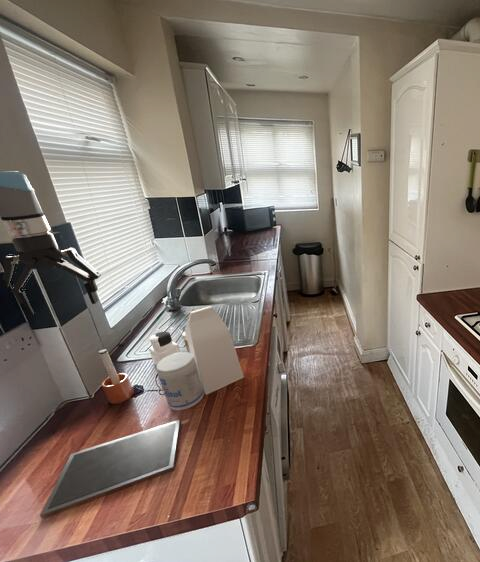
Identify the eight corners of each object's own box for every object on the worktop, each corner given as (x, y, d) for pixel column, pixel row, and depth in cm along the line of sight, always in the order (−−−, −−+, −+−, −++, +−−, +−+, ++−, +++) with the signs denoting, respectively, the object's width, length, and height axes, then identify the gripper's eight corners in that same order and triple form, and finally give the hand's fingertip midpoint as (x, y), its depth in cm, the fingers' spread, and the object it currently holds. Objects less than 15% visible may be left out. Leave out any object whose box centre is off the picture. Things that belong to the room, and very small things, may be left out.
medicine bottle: (175, 354, 117) (166, 327, 113) (183, 360, 113) (174, 333, 109) (154, 364, 112) (143, 336, 107) (162, 371, 108) (152, 342, 103)
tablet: (41, 518, 64) (39, 515, 64) (72, 456, 77) (70, 453, 77) (174, 470, 73) (173, 466, 73) (181, 422, 87) (180, 418, 86)
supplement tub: (162, 412, 90) (146, 372, 84) (180, 390, 99) (167, 351, 93) (195, 411, 90) (182, 370, 85) (210, 388, 99) (199, 350, 93)
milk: (205, 395, 96) (183, 323, 86) (196, 377, 104) (175, 309, 94) (244, 377, 104) (227, 309, 94) (232, 362, 112) (216, 297, 102)
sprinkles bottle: (196, 360, 114) (186, 328, 108) (208, 359, 113) (199, 328, 108) (189, 367, 109) (178, 335, 104) (201, 367, 109) (191, 335, 104)
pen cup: (107, 407, 93) (98, 389, 90) (113, 394, 98) (105, 376, 95) (132, 400, 95) (124, 382, 92) (136, 388, 100) (129, 370, 98)
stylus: (118, 398, 95) (97, 353, 89) (119, 394, 97) (99, 350, 90) (125, 396, 96) (105, 351, 90) (126, 393, 98) (107, 348, 91)
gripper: (-48, 244, 71) (-3, 323, 80) (87, 231, 81) (115, 303, 89) (-27, 237, 78) (13, 311, 86) (96, 226, 87) (122, 293, 95)
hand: (65, 307), depth 88 cm, fingers open, 13 cm apart
